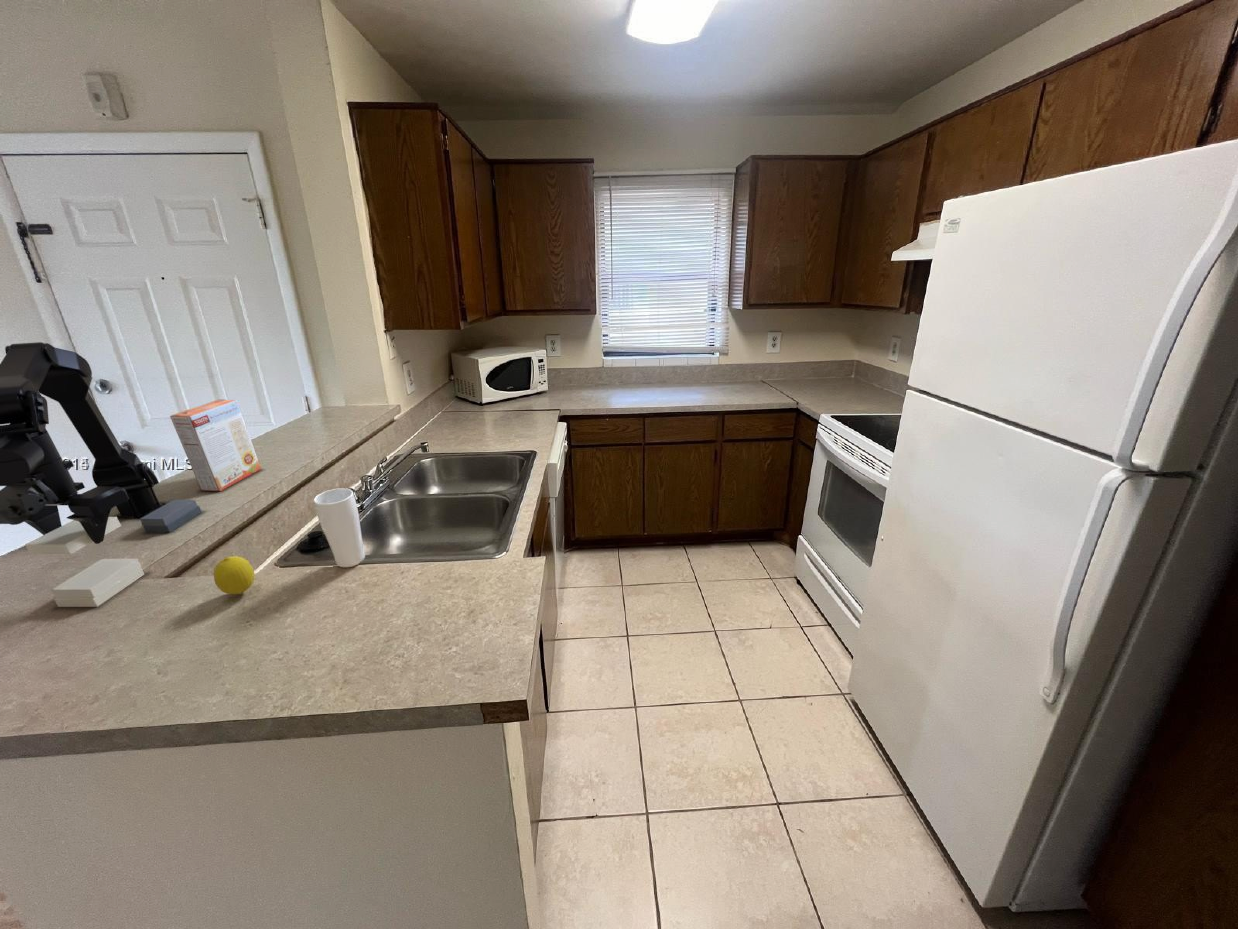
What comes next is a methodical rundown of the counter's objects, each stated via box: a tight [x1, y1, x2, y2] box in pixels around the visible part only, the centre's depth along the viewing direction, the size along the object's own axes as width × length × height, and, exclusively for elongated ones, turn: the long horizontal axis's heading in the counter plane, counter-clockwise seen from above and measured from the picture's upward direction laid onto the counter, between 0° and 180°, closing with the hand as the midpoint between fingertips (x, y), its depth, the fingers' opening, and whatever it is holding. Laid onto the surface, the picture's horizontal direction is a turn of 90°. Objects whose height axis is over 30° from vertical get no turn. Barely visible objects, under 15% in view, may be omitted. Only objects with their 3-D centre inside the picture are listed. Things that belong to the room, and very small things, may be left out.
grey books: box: [139, 499, 202, 534], centre depth 108 cm, size 9×5×4 cm, turn 1°
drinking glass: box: [313, 487, 366, 568], centre depth 93 cm, size 7×7×15 cm
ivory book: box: [24, 516, 122, 555], centre depth 83 cm, size 9×7×2 cm
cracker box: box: [169, 398, 262, 492], centre depth 125 cm, size 14×6×21 cm, turn 174°
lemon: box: [213, 555, 255, 595], centre depth 85 cm, size 6×6×8 cm
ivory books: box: [51, 558, 145, 608], centre depth 86 cm, size 9×7×4 cm
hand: (79, 542), depth 83 cm, fingers closed on ivory book, 6 cm apart
